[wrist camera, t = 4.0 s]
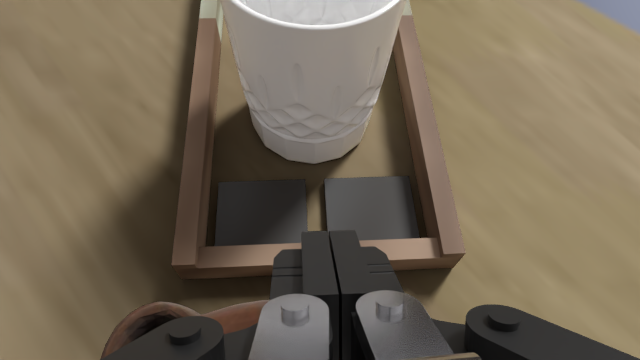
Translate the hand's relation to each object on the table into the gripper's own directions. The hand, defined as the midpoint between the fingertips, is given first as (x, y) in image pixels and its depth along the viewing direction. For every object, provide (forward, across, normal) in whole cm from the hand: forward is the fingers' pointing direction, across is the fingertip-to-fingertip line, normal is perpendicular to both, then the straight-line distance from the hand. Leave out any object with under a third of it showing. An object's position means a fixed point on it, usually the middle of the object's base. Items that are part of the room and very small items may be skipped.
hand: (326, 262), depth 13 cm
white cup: (+15, 0, -2) cm, 15 cm away
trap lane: (+16, 0, -4) cm, 17 cm away
